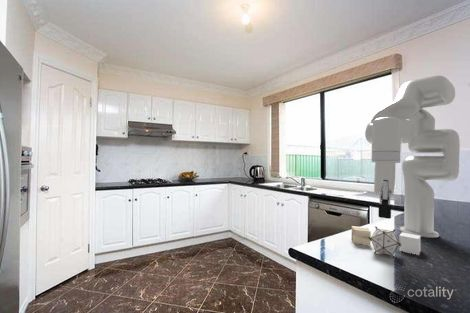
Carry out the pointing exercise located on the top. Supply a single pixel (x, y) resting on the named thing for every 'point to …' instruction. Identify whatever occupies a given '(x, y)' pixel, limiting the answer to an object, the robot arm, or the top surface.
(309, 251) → the top surface
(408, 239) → the white block
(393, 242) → the game die
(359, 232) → the ash block
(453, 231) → the top surface
